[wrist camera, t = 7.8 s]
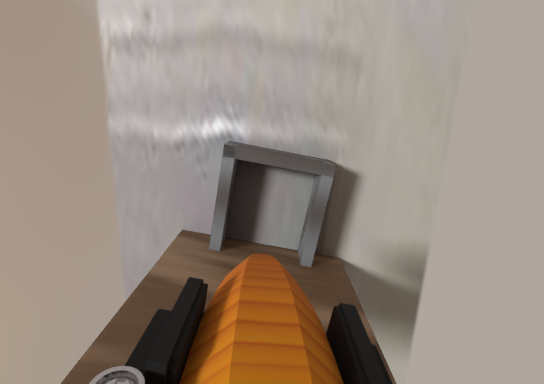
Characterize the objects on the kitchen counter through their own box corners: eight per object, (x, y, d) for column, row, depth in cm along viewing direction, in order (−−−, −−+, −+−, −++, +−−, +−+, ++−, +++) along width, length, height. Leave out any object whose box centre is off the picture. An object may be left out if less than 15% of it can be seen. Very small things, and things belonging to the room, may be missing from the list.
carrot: (203, 232, 16) (-192, 1109, 2) (289, 207, 16) (534, 960, 2) (232, 305, 18) (119, 1152, 3) (311, 282, 18) (558, 1070, 3)
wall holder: (335, 271, 30) (444, 546, 11) (180, 243, 30) (6, 486, 10) (364, 167, 28) (575, 291, 8) (193, 134, 27) (-11, 186, 8)
